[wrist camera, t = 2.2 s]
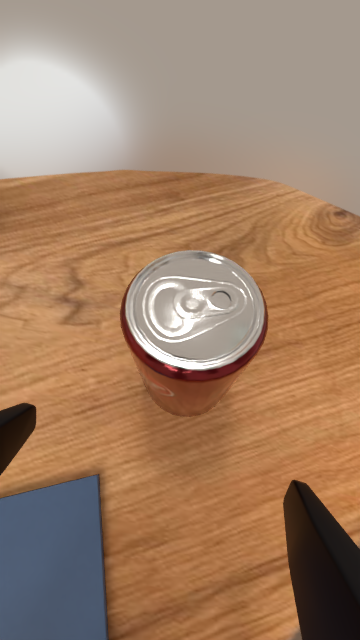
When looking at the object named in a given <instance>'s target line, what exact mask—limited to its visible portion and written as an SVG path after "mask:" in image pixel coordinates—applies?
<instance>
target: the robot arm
mask: <svg viewBox="0 0 360 640" xmlns="http://www.w3.org/2000/svg"><path fill="white" fill-rule="evenodd" d="M35 426H36V407H35V406H34V405H31V404H28V403H22V404H19V405H16V406H13V407H10V408H7V409H4V410H1V411H0V475H1V474H2V473H3V471H4V470H5V469H6V468H7V466H8V465H9V464H10V462H11V461H12V459H13V458H14V457H15V455H16V454H17V453H18V451H19V450H20V449H21V447H22V446H23V444H24V443H25V442H26V440H27V439H28V438H29V436H30V435H31V434H32V432H33V431H34V429H35ZM283 508H284V519H285V530H286V541H287V552H288V562H289V569H290V575H291V580H292V586H293V591H294V597H295V603H296V608H297V614H298V619H299V625H300V630H301V635H302V640H360V549H359V548H358V547H357V545H356V544H355V543H354V542H353V540H352V539H351V538H350V537H349V535H348V534H347V533H346V532H345V530H344V529H343V528H342V527H341V525H340V524H339V523H338V522H337V521H336V519H335V518H334V517H333V516H332V514H331V513H330V512H329V511H328V509H327V508H326V507H325V506H324V504H323V503H322V502H321V501H320V499H319V498H318V497H317V496H316V495H315V493H314V492H313V491H312V490H311V488H310V487H309V486H308V485H307V484H306V483H304V482H300V481H297V480H292V481H291V483H290V485H289V488H288V490H287V492H286V495H285V497H284V502H283Z"/></svg>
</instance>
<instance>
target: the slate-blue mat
mask: <svg viewBox="0 0 360 640" xmlns="http://www.w3.org/2000/svg"><path fill="white" fill-rule="evenodd" d="M0 640H109V639H108V622H107V605H106V587H105V570H104V553H103V535H102V518H101V501H100V483H99V474H98V475H93V476H89V477H85V478H81V479H77V480H73V481H69V482H65V483H61V484H57V485H53V486H49V487H45V488H40V489H36V490H32V491H28V492H24V493H20V494H16V495H12V496H8V497H4V498H0Z"/></svg>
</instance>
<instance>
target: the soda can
mask: <svg viewBox="0 0 360 640" xmlns="http://www.w3.org/2000/svg"><path fill="white" fill-rule="evenodd" d="M120 321H121V328H122V332H123V335H124V338H125V341H126V343H127V345H128V347H129V350H130V352H131V354H132V357H133V359H134V361H135V364H136V366H137V368H138V370H139V373H140V375H141V377H142V380H143V382H144V384H145V387H146V389H147V391H148V393H149V395H150V396H151V398H152V400H153V401H154V402H155V403H156V404H157V405H158V406H159V407H161V408H162V409H163V410H165V411H167V412H169V413H171V414H173V415H178V416H184V417H191V416H197V415H200V414H203V413H205V412H208V411H209V410H210V409H212V408H213V407H215V406H216V405H217V404H218V402H219V401H220V400H221V399H222V398H223V397H224V395H225V394H226V393H227V391H228V390H229V389H230V388H231V386H232V385H233V384H234V383H235V381H236V380H237V379H238V378H239V376H240V375H241V374H242V373H243V371H244V370H245V369H246V367H247V366H248V365H249V364H250V362H251V361H252V360H253V359H254V357H255V356H256V355H257V353H258V351H259V350H260V348H261V346H262V345H263V343H264V340H265V337H266V333H267V330H268V312H267V305H266V301H265V299H264V296H263V294H262V291H261V290H260V288H259V287H258V285H257V284H256V282H255V281H254V279H253V278H252V277H251V276H250V275H249V274H248V273H247V272H246V271H245V270H244V269H243V268H242V267H240V266H239V265H238V264H236V263H235V262H233V261H231V260H229V259H227V258H226V257H224V256H221V255H218V254H215V253H211V252H205V251H192V250H188V251H180V252H175V253H171V254H168V255H165V256H162V257H160V258H158V259H156V260H154V261H153V262H151V263H150V264H148V265H147V266H146V267H144V268H143V269H142V270H141V271H140V272H139V273H138V274H137V275H136V276H135V277H134V278H133V279H132V281H131V282H130V284H129V285H128V287H127V289H126V292H125V294H124V297H123V299H122V303H121V310H120Z"/></svg>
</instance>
